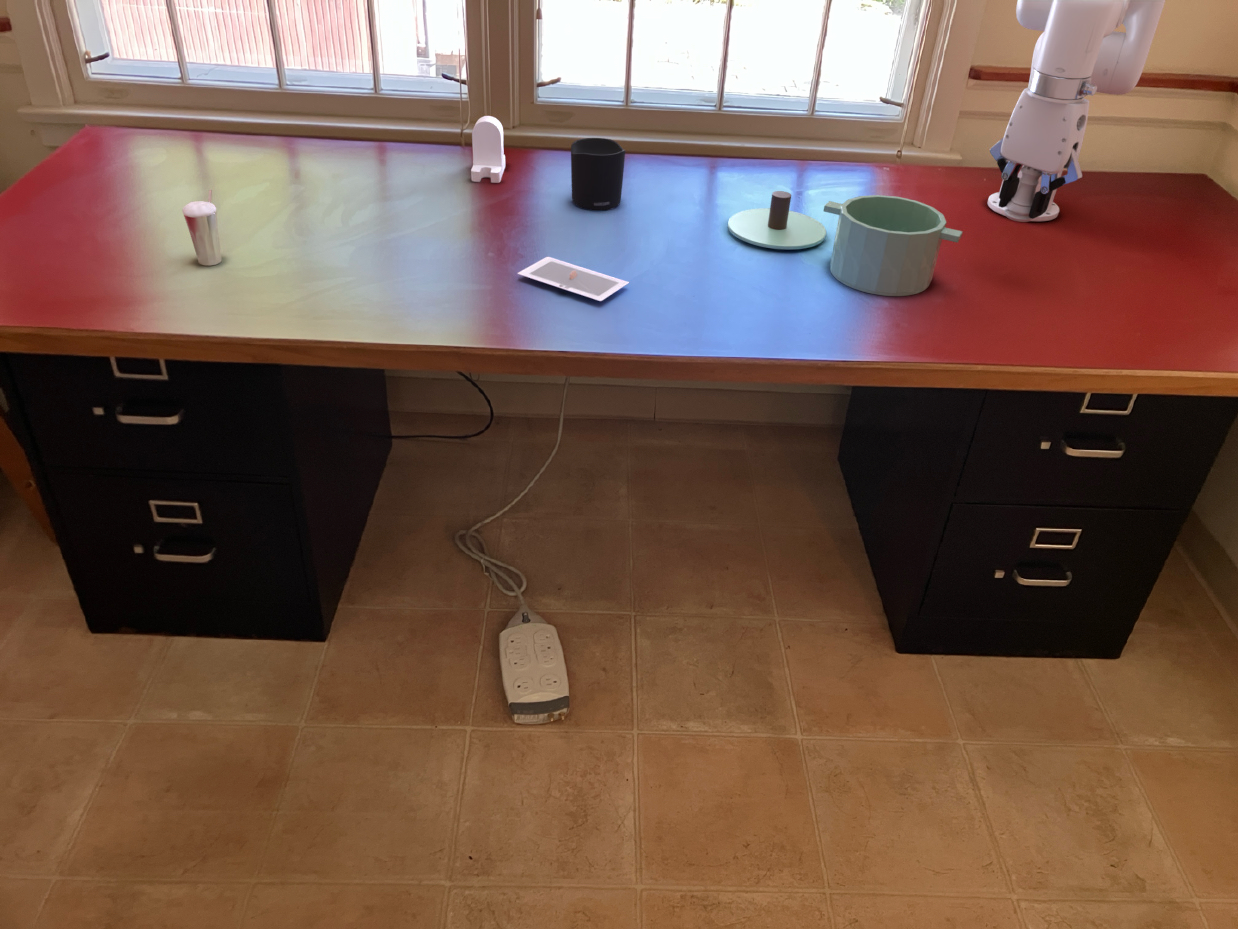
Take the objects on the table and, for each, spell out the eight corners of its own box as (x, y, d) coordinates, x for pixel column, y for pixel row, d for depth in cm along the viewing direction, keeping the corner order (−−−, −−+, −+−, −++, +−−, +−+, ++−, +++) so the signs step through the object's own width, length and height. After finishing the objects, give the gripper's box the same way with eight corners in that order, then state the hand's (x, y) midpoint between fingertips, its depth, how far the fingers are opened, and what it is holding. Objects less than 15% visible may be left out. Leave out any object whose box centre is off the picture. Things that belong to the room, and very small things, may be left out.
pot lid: (750, 207, 174) (754, 170, 170) (838, 228, 168) (845, 190, 164) (711, 237, 162) (715, 198, 158) (805, 261, 156) (811, 221, 152)
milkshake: (236, 256, 147) (223, 192, 142) (213, 269, 143) (199, 204, 137) (211, 251, 149) (197, 187, 143) (187, 264, 144) (172, 199, 139)
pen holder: (561, 206, 170) (561, 149, 165) (582, 189, 178) (584, 134, 172) (610, 216, 168) (613, 158, 162) (630, 198, 175) (633, 143, 169)
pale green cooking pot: (832, 242, 163) (843, 184, 157) (957, 273, 155) (973, 213, 149) (800, 275, 152) (810, 213, 146) (933, 310, 144) (949, 246, 138)
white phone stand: (505, 164, 186) (504, 111, 180) (499, 182, 178) (498, 127, 172) (478, 163, 186) (476, 110, 180) (471, 181, 178) (468, 126, 172)
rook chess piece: (998, 210, 148) (1013, 158, 143) (1026, 210, 148) (1042, 159, 143) (1010, 222, 144) (1025, 169, 139) (1038, 222, 145) (1055, 170, 140)
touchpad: (547, 262, 151) (547, 249, 150) (629, 289, 145) (629, 275, 144) (516, 280, 145) (516, 266, 144) (600, 308, 139) (601, 294, 138)
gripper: (1129, 95, 132) (1085, 223, 143) (1018, 66, 142) (985, 187, 153) (1102, 105, 128) (1059, 235, 139) (990, 74, 138) (958, 198, 149)
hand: (1020, 209), depth 146 cm, fingers closed on rook chess piece, 4 cm apart
